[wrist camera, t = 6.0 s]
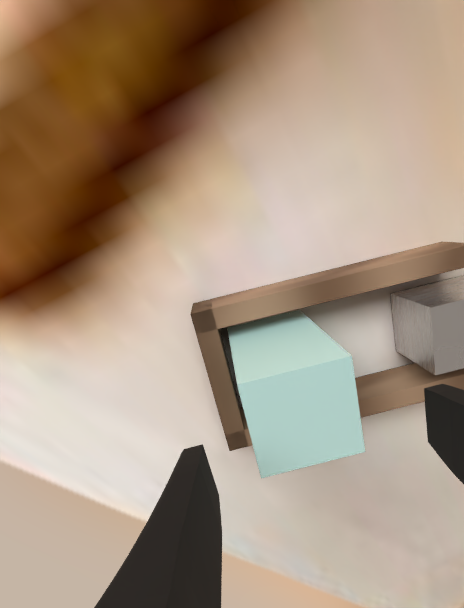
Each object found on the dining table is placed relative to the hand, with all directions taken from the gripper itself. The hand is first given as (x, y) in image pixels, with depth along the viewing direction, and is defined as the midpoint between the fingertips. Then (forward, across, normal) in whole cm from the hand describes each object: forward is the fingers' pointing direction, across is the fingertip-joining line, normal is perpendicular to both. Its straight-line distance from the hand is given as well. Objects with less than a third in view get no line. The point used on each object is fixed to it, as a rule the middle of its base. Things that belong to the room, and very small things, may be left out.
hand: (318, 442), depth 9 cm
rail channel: (+7, -3, 0) cm, 8 cm away
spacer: (+7, 0, 0) cm, 7 cm away
